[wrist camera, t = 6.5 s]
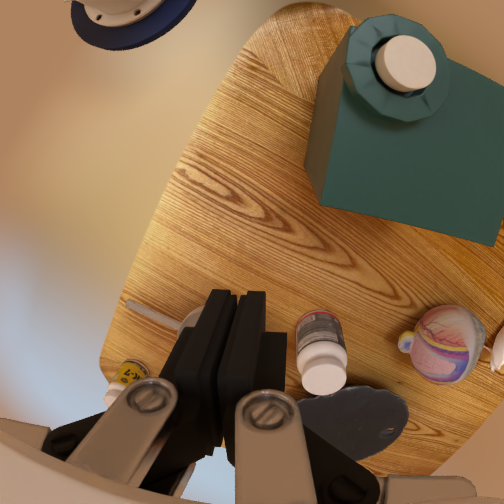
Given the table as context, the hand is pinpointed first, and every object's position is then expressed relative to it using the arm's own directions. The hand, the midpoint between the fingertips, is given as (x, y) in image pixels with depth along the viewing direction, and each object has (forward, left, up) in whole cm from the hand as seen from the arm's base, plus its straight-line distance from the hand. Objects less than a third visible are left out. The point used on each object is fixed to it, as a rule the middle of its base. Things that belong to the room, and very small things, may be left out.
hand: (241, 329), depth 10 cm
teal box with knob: (+9, +8, -25) cm, 28 cm away
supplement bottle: (-16, -31, -26) cm, 43 cm away
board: (+17, -32, -26) cm, 44 cm away
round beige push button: (+5, +11, -7) cm, 14 cm away
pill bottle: (+9, -16, -26) cm, 31 cm away
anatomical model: (+25, -13, -26) cm, 38 cm away
